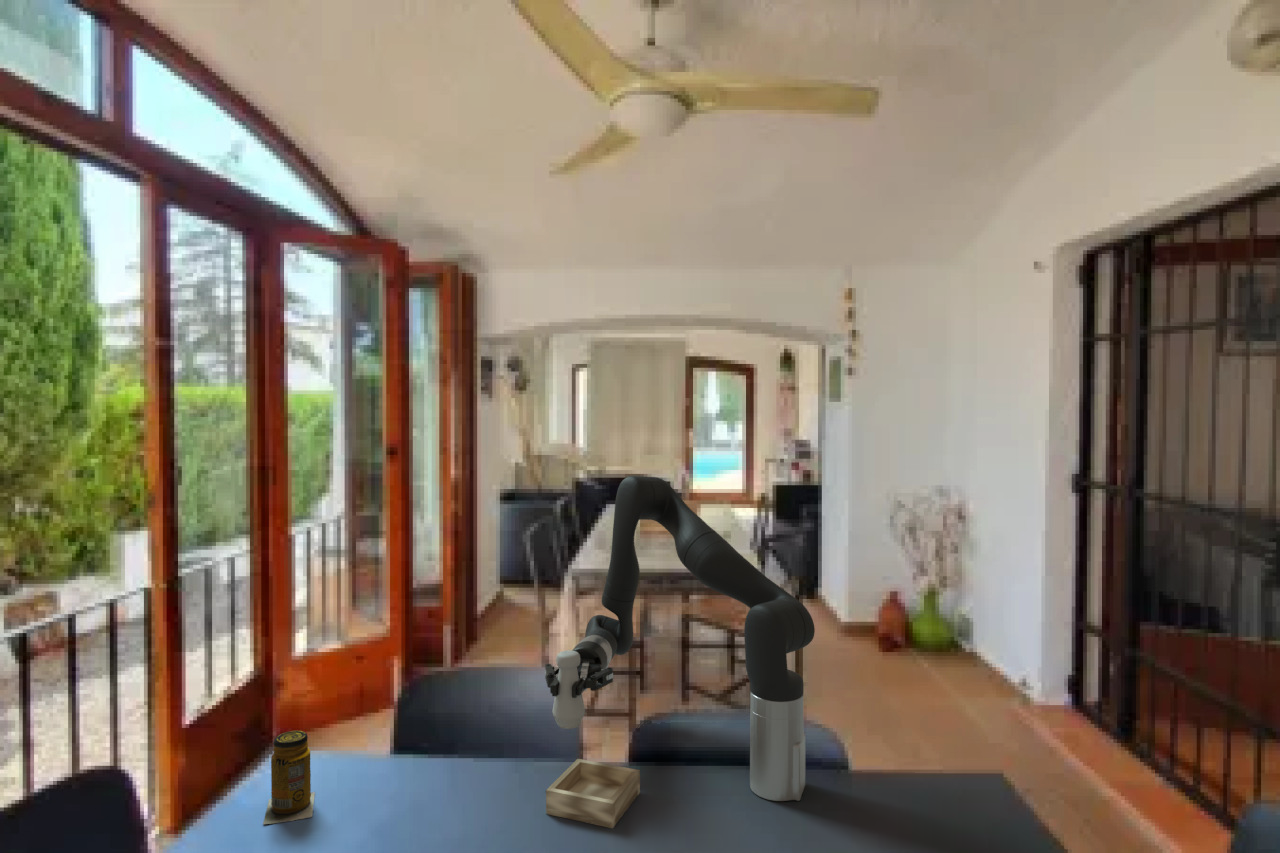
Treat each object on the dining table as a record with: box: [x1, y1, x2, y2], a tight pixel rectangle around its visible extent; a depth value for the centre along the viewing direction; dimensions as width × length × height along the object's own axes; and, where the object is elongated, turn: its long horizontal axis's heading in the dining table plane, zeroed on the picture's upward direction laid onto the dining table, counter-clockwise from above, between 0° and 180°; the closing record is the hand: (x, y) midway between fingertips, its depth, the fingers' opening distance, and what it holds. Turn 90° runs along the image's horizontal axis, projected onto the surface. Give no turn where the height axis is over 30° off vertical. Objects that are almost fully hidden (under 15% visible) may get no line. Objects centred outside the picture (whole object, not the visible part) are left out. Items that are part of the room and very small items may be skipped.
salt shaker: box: [551, 649, 586, 730], centre depth 136 cm, size 6×6×13 cm
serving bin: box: [545, 758, 641, 829], centre depth 129 cm, size 12×12×4 cm
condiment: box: [262, 730, 316, 825], centre depth 127 cm, size 7×8×12 cm
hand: (564, 691), depth 133 cm, fingers closed on salt shaker, 3 cm apart
